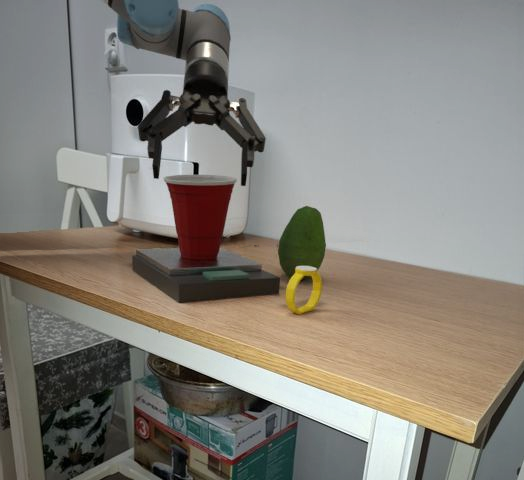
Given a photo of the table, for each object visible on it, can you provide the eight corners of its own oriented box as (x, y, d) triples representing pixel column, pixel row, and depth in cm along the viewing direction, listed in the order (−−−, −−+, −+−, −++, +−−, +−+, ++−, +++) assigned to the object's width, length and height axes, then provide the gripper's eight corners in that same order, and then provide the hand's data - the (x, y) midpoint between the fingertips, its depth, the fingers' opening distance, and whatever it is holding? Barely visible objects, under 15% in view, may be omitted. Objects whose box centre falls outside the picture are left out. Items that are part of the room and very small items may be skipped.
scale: (132, 270, 79) (131, 248, 77) (220, 266, 87) (220, 246, 86) (178, 302, 64) (179, 276, 63) (278, 293, 72) (281, 270, 71)
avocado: (330, 282, 82) (340, 209, 77) (292, 285, 78) (300, 208, 73) (303, 272, 88) (310, 203, 83) (266, 274, 84) (272, 202, 79)
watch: (308, 305, 68) (313, 263, 65) (323, 310, 66) (329, 267, 64) (279, 312, 64) (283, 267, 61) (295, 318, 62) (300, 272, 60)
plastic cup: (148, 252, 75) (147, 170, 71) (201, 247, 83) (204, 173, 78) (193, 266, 69) (195, 177, 64) (246, 260, 76) (252, 179, 72)
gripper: (274, 106, 88) (276, 199, 80) (135, 91, 86) (121, 186, 77) (281, 68, 81) (283, 165, 73) (129, 51, 79) (113, 150, 70)
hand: (200, 176), depth 75 cm, fingers open, 13 cm apart
